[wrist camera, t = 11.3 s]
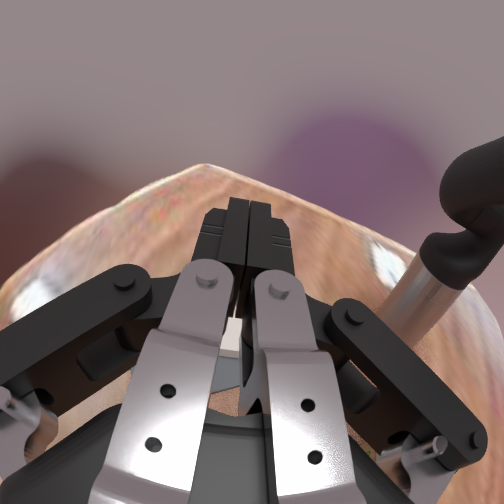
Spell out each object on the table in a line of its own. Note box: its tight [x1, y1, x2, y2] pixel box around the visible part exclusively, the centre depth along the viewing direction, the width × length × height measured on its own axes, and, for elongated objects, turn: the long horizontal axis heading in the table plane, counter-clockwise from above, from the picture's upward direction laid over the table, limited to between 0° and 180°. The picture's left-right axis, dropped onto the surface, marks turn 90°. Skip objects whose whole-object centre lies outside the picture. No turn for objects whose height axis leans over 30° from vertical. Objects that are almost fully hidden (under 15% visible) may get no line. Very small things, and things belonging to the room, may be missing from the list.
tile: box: [219, 306, 242, 358], centre depth 39 cm, size 2×9×15 cm
